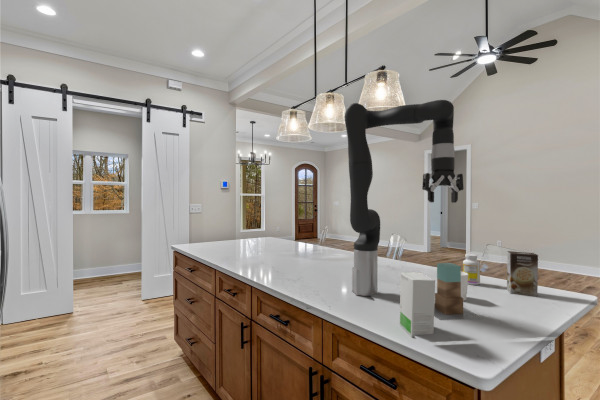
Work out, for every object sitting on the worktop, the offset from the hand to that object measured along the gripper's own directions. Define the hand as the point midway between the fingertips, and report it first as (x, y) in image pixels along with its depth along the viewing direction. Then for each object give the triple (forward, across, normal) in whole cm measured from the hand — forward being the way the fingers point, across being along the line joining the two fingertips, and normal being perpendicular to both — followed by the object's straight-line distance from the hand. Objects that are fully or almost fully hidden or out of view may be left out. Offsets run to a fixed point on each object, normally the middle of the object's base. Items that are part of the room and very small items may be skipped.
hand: (442, 202), depth 109 cm
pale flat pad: (+36, -4, -10) cm, 38 cm away
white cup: (+36, +7, +3) cm, 37 cm away
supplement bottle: (+36, +28, +24) cm, 52 cm away
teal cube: (+25, -4, -10) cm, 27 cm away
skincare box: (+36, -21, -22) cm, 47 cm away
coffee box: (+36, +39, +9) cm, 54 cm away
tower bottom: (+35, -4, -10) cm, 37 cm away
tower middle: (+30, -4, -10) cm, 32 cm away
